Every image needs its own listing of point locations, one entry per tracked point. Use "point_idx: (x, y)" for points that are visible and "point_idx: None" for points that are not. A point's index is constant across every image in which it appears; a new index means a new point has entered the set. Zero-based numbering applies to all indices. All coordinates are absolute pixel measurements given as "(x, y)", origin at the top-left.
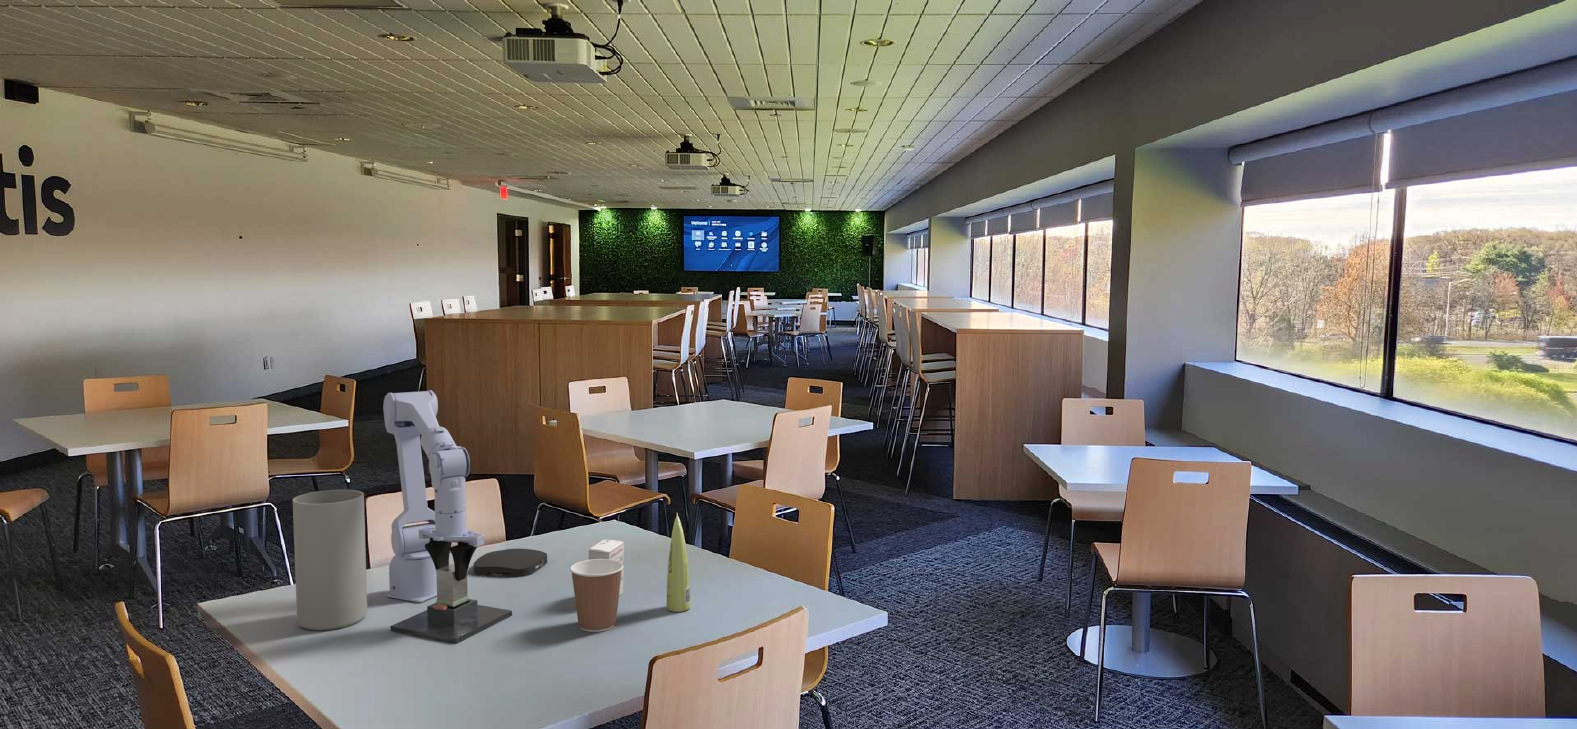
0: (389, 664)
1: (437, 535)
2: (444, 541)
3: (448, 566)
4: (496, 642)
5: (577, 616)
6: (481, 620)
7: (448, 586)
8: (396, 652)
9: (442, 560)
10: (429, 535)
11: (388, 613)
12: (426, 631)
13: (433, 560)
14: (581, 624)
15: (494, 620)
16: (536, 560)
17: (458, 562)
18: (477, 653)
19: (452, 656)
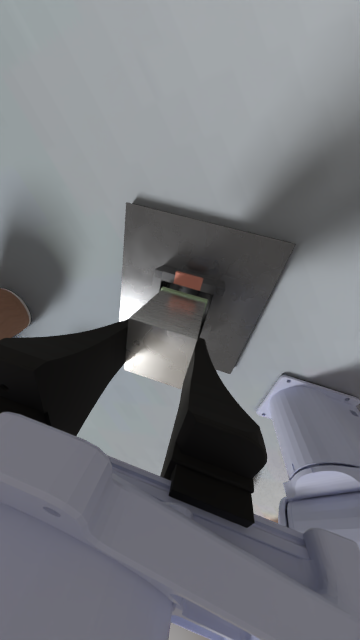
0: (207, 10)
1: (62, 532)
2: (163, 475)
3: (176, 371)
4: (77, 228)
5: (6, 304)
6: (136, 296)
7: (162, 305)
8: (226, 114)
9: (186, 382)
10: (236, 563)
11: (329, 332)
12: (201, 227)
13: (211, 371)
14: (5, 293)
15: (121, 302)
16: None
17: (80, 332)
18: (72, 166)
19: (101, 133)
